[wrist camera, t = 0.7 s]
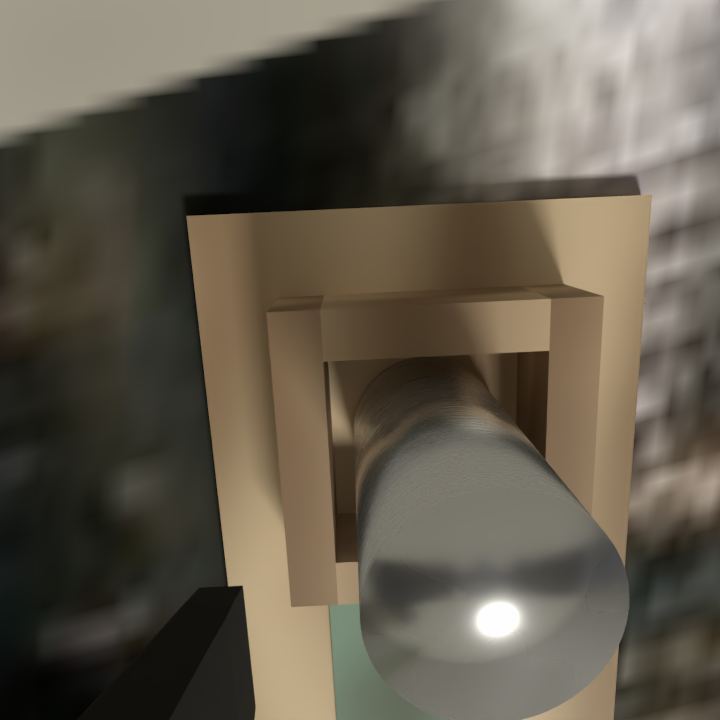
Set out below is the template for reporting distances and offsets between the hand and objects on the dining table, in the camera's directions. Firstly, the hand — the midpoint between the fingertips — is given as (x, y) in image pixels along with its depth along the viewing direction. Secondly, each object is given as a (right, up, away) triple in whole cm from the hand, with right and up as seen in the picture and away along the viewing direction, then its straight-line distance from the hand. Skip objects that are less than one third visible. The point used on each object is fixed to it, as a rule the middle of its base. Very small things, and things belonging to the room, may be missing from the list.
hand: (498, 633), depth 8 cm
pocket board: (0, -1, +9) cm, 9 cm away
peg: (0, +2, +8) cm, 8 cm away
